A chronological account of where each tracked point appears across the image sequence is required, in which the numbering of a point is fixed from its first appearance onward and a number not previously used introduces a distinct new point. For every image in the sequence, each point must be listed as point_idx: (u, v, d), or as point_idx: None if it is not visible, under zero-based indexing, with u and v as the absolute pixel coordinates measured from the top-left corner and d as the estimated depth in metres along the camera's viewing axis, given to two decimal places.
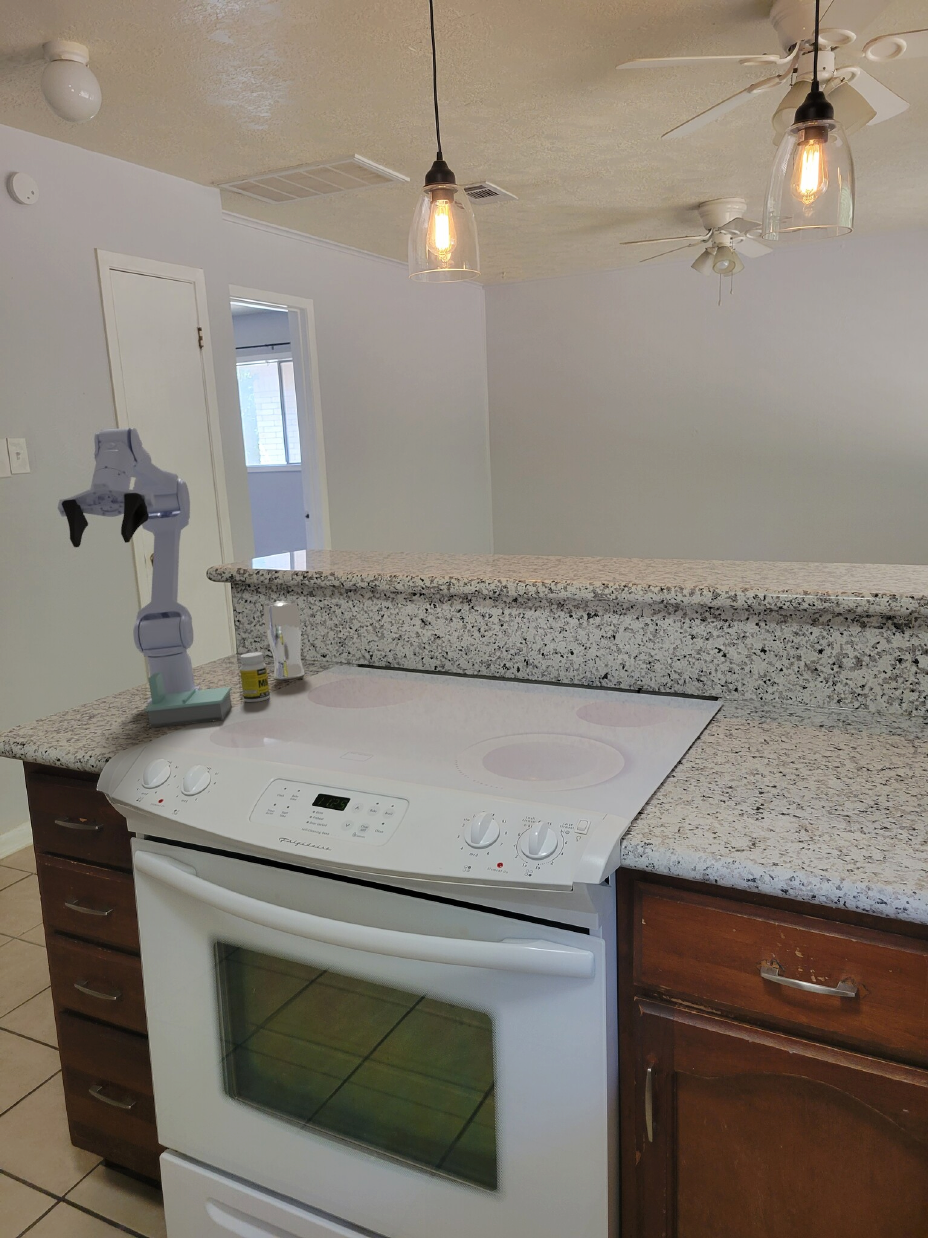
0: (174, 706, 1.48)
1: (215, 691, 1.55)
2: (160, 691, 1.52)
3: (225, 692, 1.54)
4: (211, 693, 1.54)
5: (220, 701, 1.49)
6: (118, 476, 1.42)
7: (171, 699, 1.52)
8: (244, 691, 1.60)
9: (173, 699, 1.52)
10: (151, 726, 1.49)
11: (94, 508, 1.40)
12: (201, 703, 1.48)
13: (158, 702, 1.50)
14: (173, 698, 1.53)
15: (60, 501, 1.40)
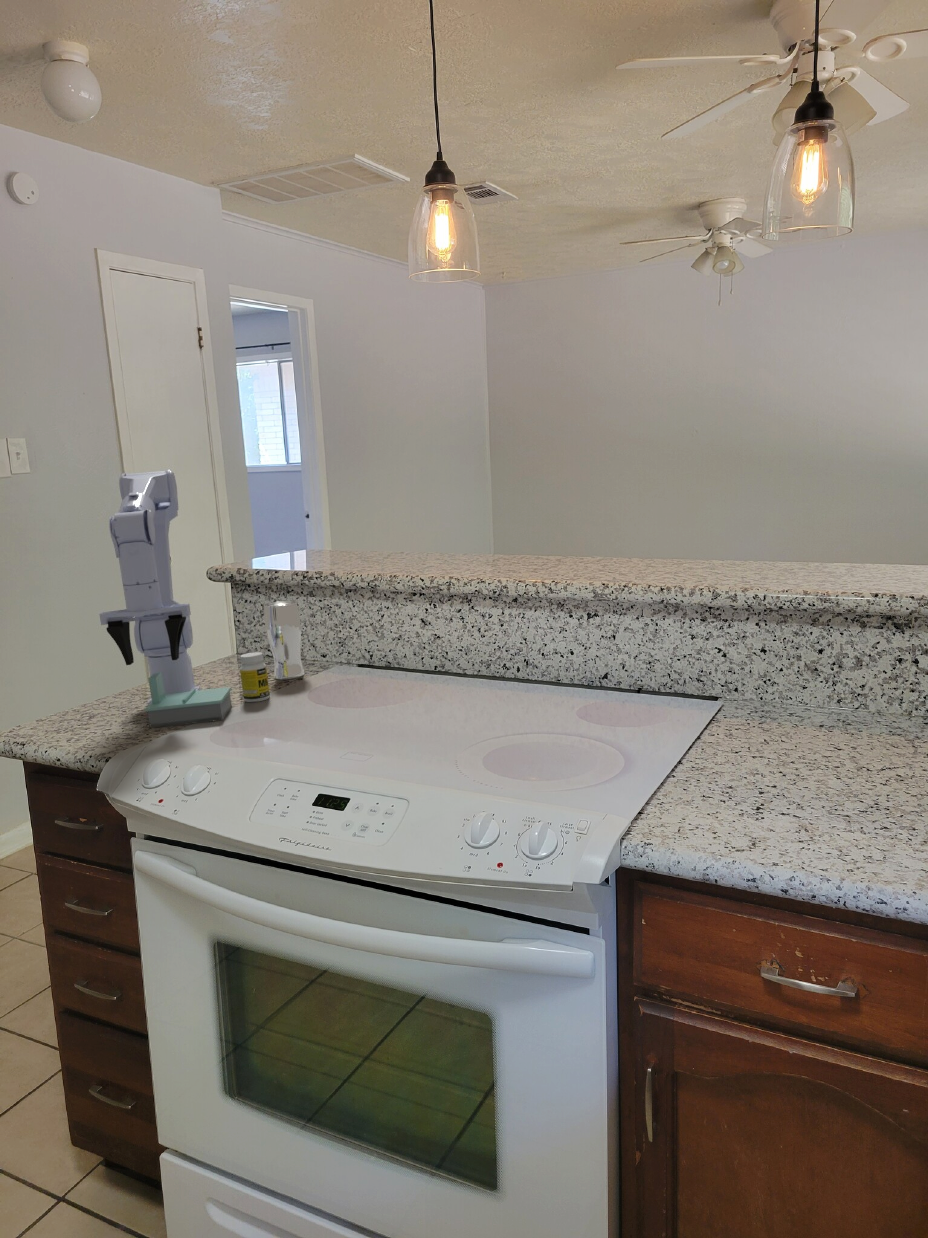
0: (174, 706, 1.48)
1: (215, 691, 1.55)
2: (160, 691, 1.52)
3: (225, 692, 1.54)
4: (211, 693, 1.54)
5: (220, 701, 1.49)
6: (150, 591, 1.47)
7: (171, 699, 1.52)
8: (244, 691, 1.60)
9: (173, 699, 1.52)
10: (151, 726, 1.49)
11: (135, 620, 1.50)
12: (201, 703, 1.48)
13: (158, 702, 1.50)
14: (173, 698, 1.53)
15: (101, 616, 1.48)
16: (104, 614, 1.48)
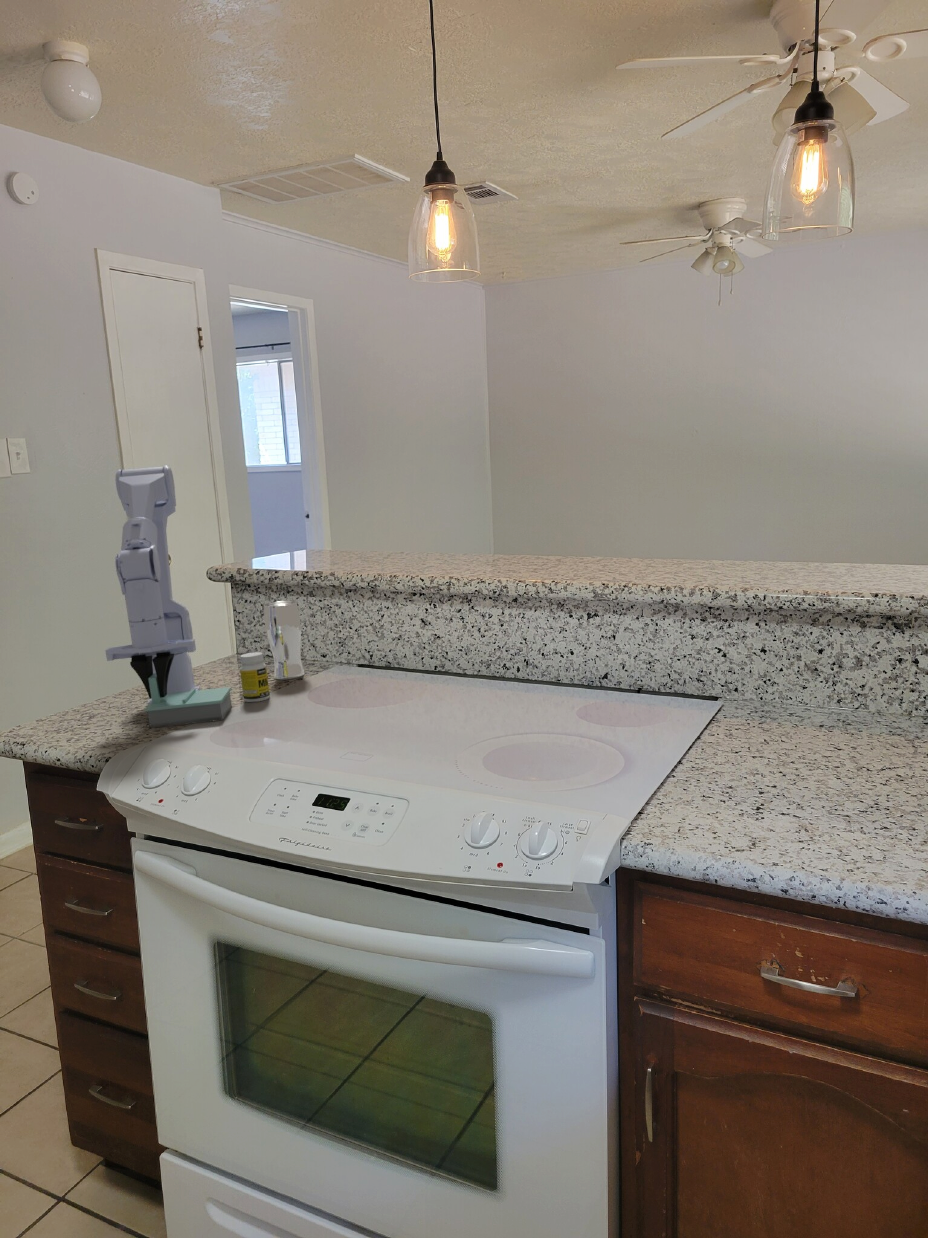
0: (174, 706, 1.48)
1: (215, 691, 1.55)
2: None
3: (225, 692, 1.54)
4: (211, 693, 1.54)
5: (220, 701, 1.49)
6: (156, 628, 1.48)
7: (171, 699, 1.52)
8: (244, 691, 1.60)
9: (173, 699, 1.52)
10: (151, 726, 1.49)
11: None
12: (201, 703, 1.48)
13: (158, 702, 1.50)
14: (173, 698, 1.53)
15: (107, 652, 1.49)
16: (110, 650, 1.49)
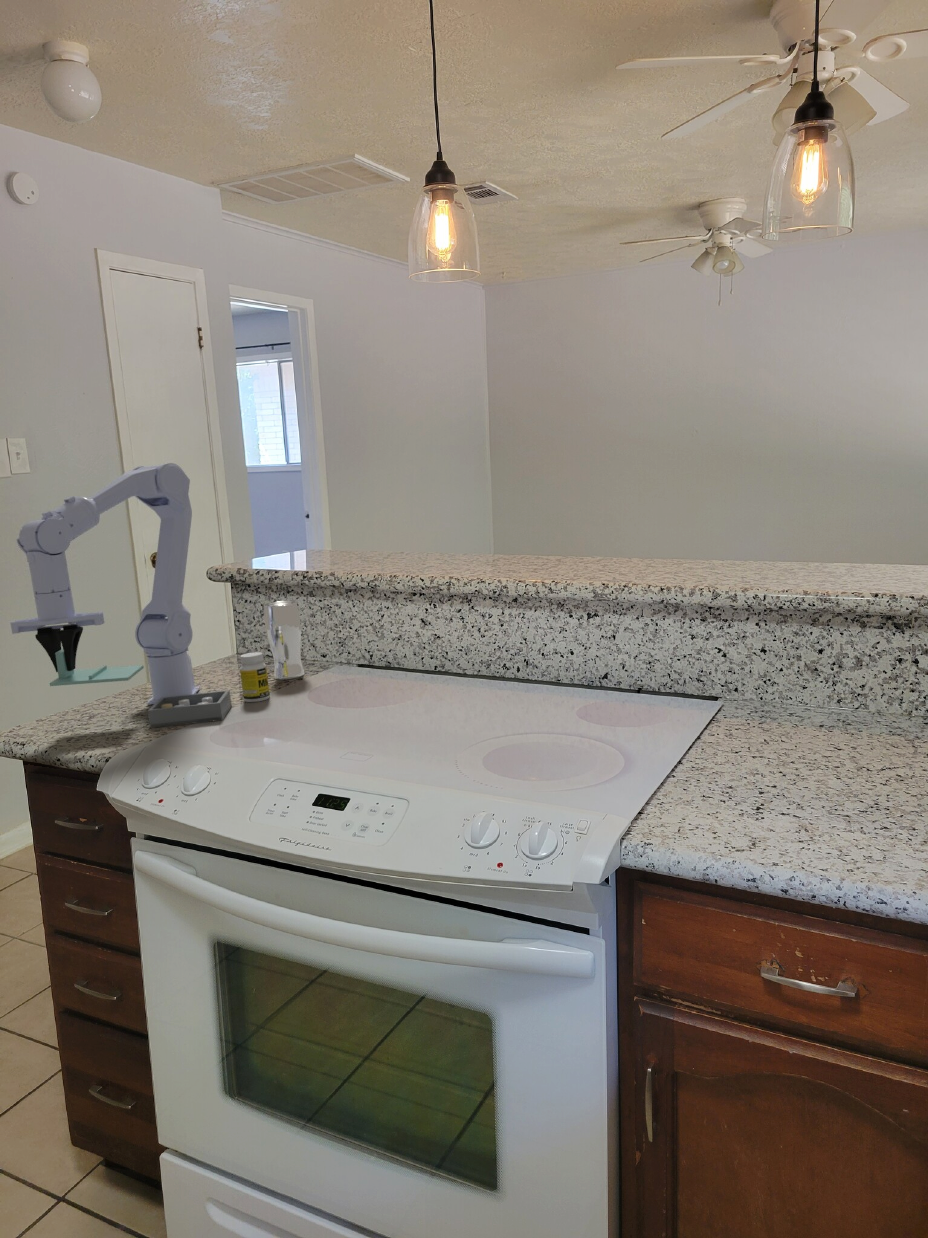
0: (80, 682, 1.46)
1: (126, 669, 1.53)
2: None
3: (135, 670, 1.52)
4: (121, 670, 1.52)
5: (127, 678, 1.47)
6: (61, 600, 1.46)
7: (79, 675, 1.50)
8: (244, 691, 1.60)
9: (81, 675, 1.50)
10: (151, 726, 1.49)
11: None
12: (107, 680, 1.46)
13: (65, 677, 1.48)
14: (81, 674, 1.51)
15: (12, 625, 1.47)
16: (15, 623, 1.47)
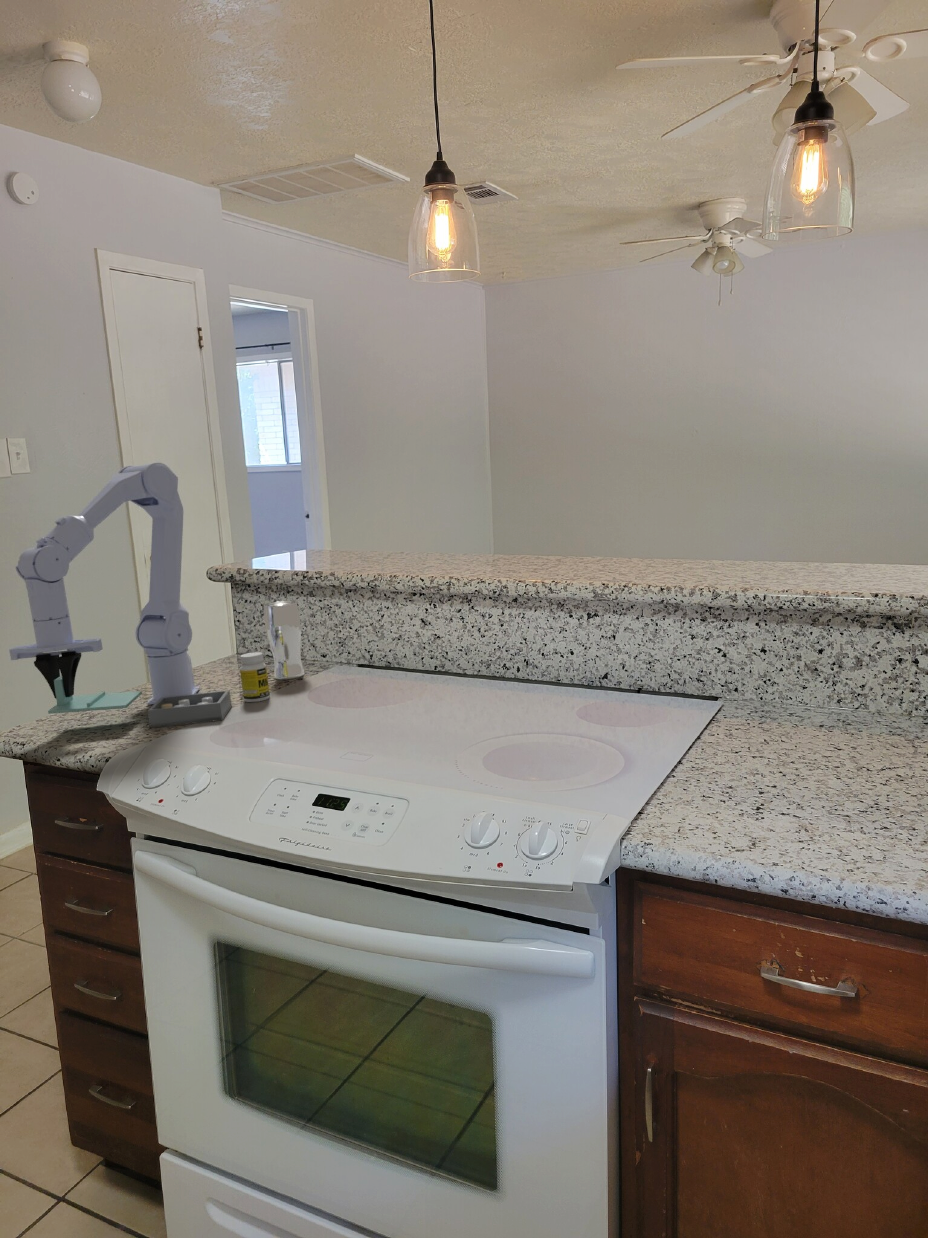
0: (78, 709, 1.47)
1: (124, 695, 1.54)
2: None
3: (133, 696, 1.53)
4: (119, 697, 1.53)
5: (125, 706, 1.47)
6: (59, 627, 1.47)
7: (78, 702, 1.51)
8: (244, 691, 1.60)
9: (79, 702, 1.51)
10: (151, 726, 1.49)
11: None
12: (105, 707, 1.47)
13: (63, 704, 1.49)
14: (80, 701, 1.52)
15: (11, 652, 1.48)
16: (14, 649, 1.48)
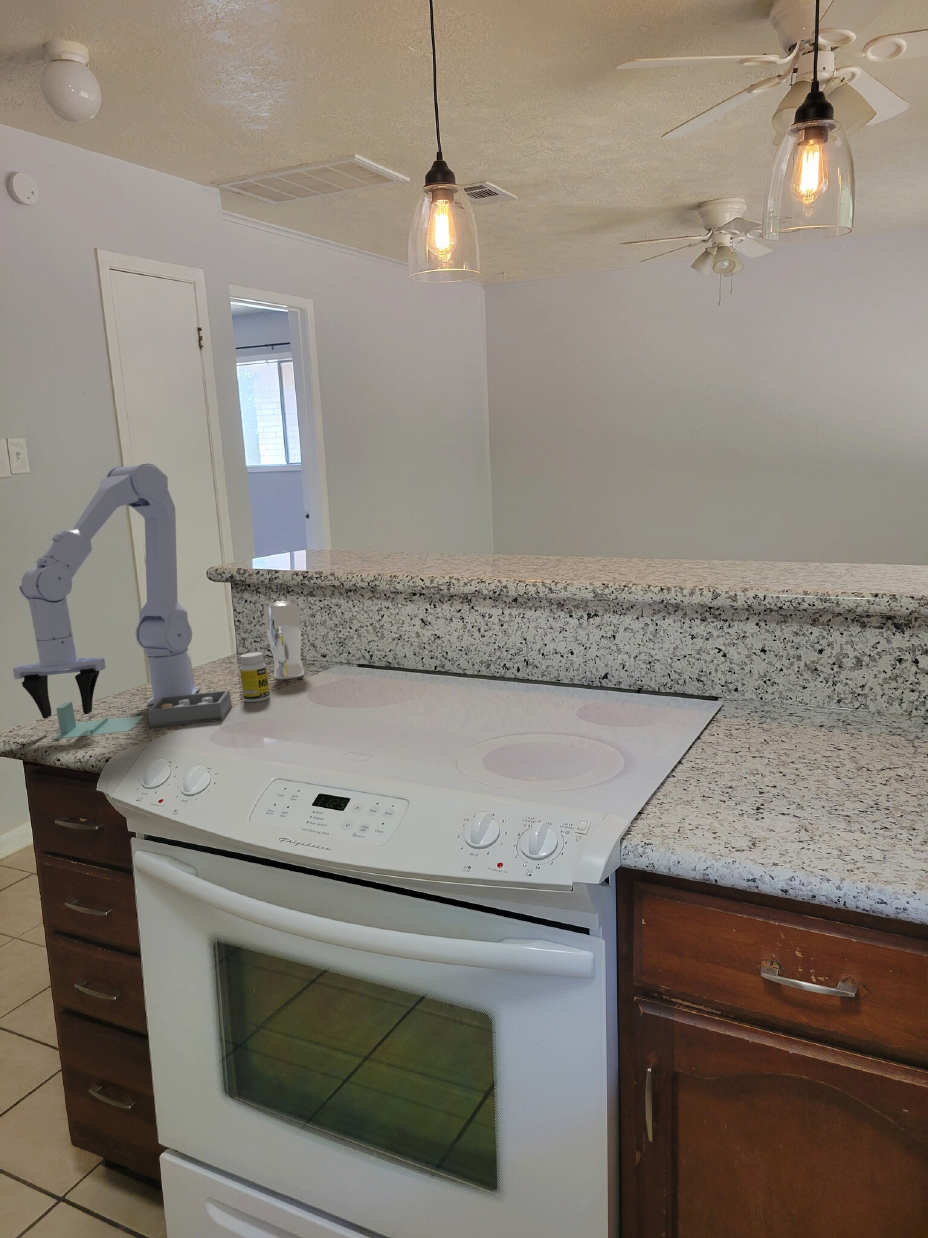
0: None
1: (127, 720, 1.55)
2: (69, 721, 1.51)
3: (136, 721, 1.53)
4: (122, 722, 1.54)
5: None
6: (63, 646, 1.48)
7: (81, 729, 1.52)
8: (244, 691, 1.60)
9: (83, 729, 1.52)
10: (151, 726, 1.49)
11: (49, 674, 1.50)
12: None
13: (67, 732, 1.50)
14: (83, 728, 1.52)
15: (14, 671, 1.49)
16: (17, 669, 1.49)
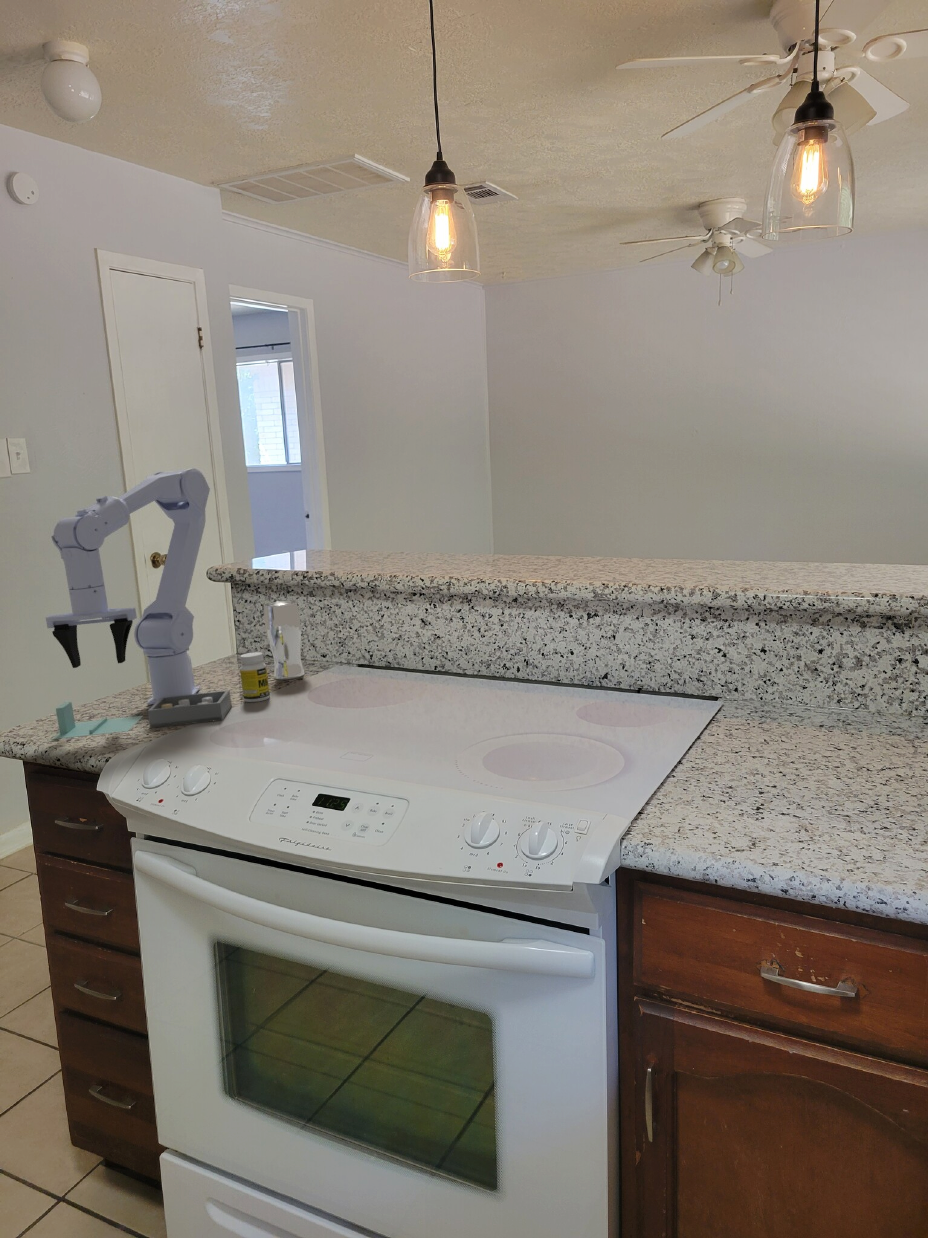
0: None
1: (126, 720, 1.55)
2: (69, 721, 1.51)
3: (135, 721, 1.53)
4: (121, 722, 1.54)
5: None
6: (95, 595, 1.50)
7: (80, 729, 1.52)
8: (244, 691, 1.60)
9: (82, 729, 1.52)
10: (151, 726, 1.49)
11: None
12: None
13: (66, 732, 1.50)
14: (82, 728, 1.53)
15: (47, 620, 1.51)
16: (50, 618, 1.51)
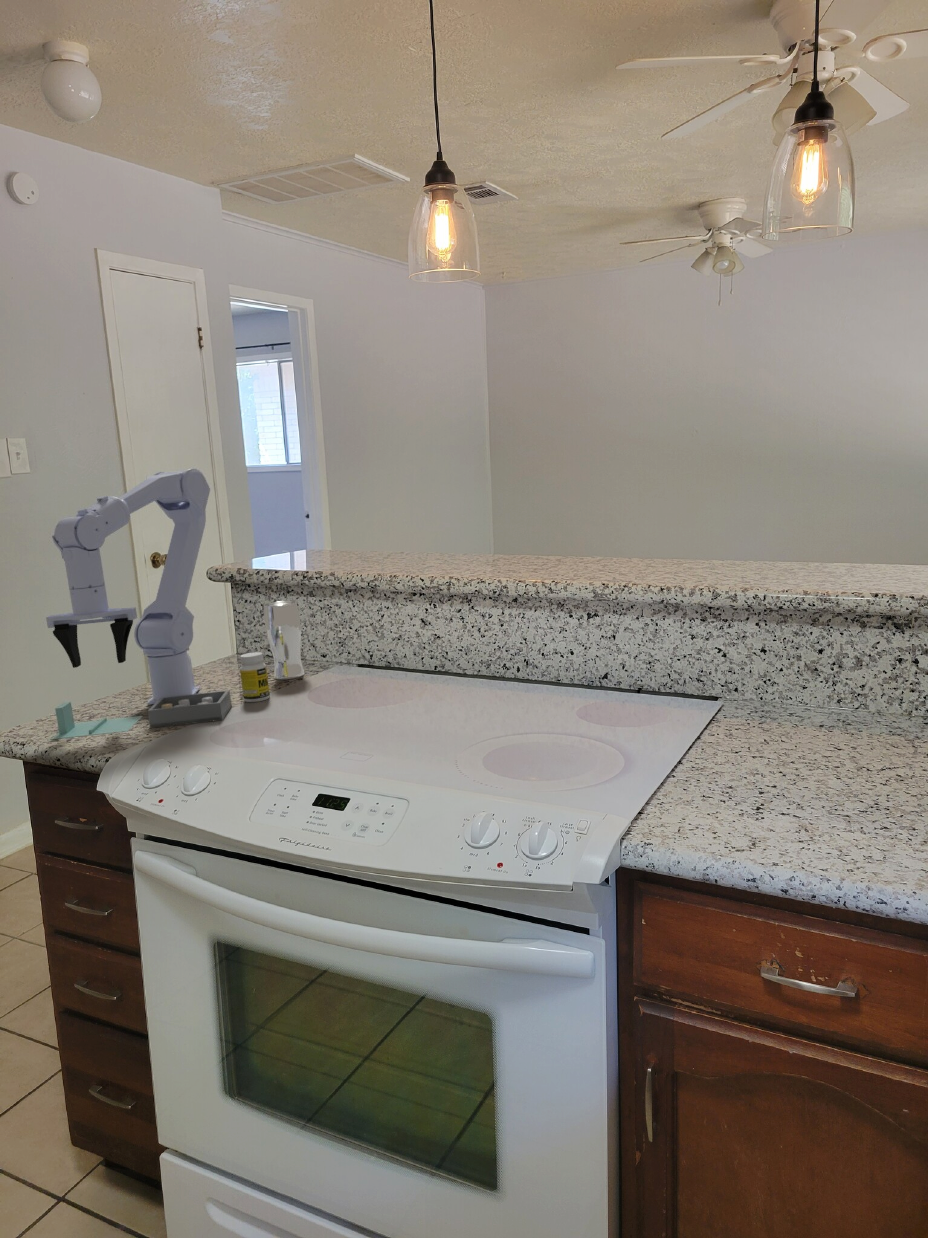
0: None
1: (125, 720, 1.55)
2: (68, 721, 1.51)
3: (135, 722, 1.53)
4: (121, 723, 1.54)
5: None
6: (96, 595, 1.50)
7: (79, 729, 1.52)
8: (244, 691, 1.60)
9: (81, 729, 1.52)
10: (151, 726, 1.49)
11: (82, 623, 1.52)
12: None
13: (65, 732, 1.50)
14: (82, 728, 1.52)
15: (47, 620, 1.51)
16: (51, 617, 1.51)
